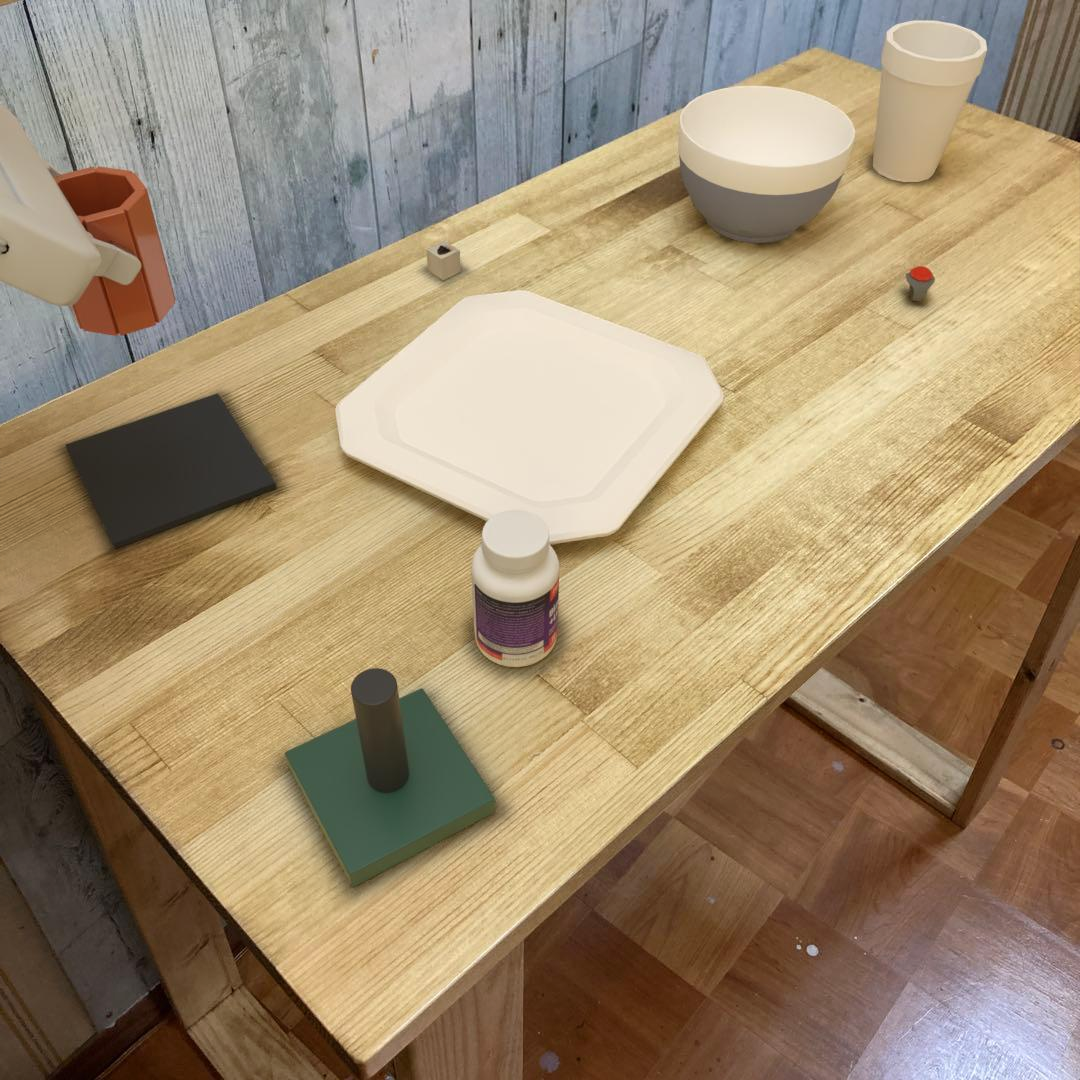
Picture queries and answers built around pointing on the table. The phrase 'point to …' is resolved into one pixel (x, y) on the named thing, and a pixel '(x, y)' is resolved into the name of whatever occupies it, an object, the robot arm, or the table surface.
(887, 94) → the foam cup
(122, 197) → the orange hollow octagonal tube
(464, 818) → the post stand
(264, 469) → the mat
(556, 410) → the plate
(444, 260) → the cube with dark pebbles
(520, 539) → the pill bottle
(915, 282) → the ring
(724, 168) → the bowl
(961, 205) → the table surface
